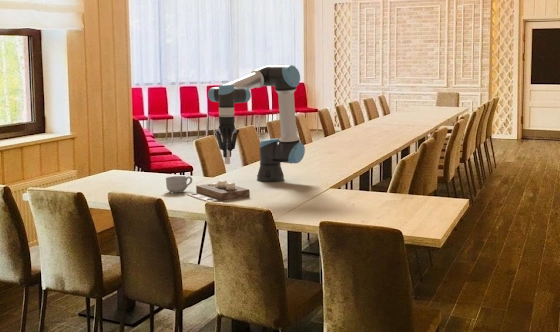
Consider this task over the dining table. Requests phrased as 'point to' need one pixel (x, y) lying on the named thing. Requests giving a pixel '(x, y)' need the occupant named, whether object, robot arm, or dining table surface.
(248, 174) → the dining table surface
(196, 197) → the card
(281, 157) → the robot arm
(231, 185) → the button
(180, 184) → the teacup
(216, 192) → the board
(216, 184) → the button
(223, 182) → the button
